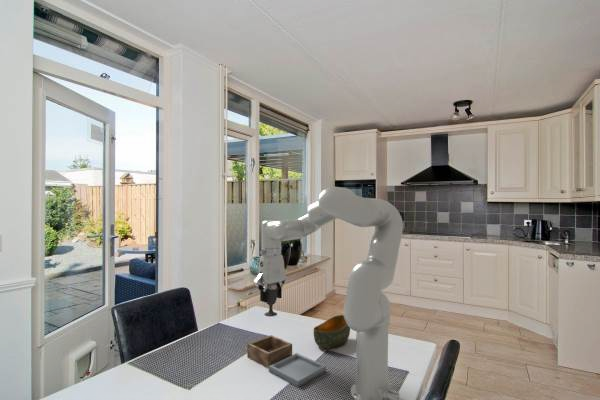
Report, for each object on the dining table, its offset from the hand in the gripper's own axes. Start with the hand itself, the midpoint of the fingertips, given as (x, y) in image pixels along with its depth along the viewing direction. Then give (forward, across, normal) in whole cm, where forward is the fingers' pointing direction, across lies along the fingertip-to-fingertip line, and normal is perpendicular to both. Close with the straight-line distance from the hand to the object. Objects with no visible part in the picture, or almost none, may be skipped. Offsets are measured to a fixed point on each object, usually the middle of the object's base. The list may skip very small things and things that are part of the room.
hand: (271, 299), depth 124 cm
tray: (+22, -1, -14) cm, 26 cm away
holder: (+22, 0, 0) cm, 22 cm away
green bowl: (+22, +27, -10) cm, 36 cm away
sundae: (+6, 0, 0) cm, 6 cm away
